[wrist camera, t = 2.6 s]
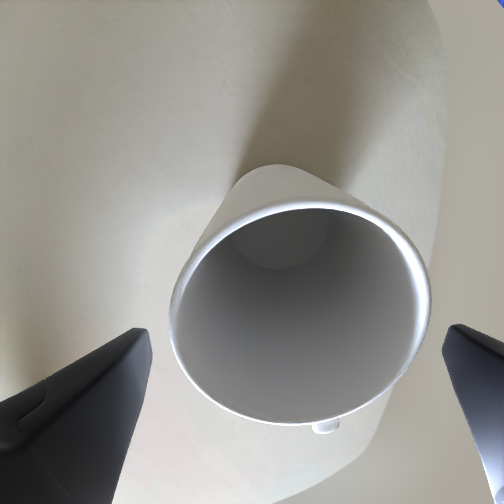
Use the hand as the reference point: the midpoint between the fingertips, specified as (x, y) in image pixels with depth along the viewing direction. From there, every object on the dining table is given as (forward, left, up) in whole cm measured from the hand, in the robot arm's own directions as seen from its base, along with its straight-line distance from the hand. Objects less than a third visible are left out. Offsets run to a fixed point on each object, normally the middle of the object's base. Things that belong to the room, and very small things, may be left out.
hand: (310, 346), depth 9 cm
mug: (0, +1, -12) cm, 12 cm away
